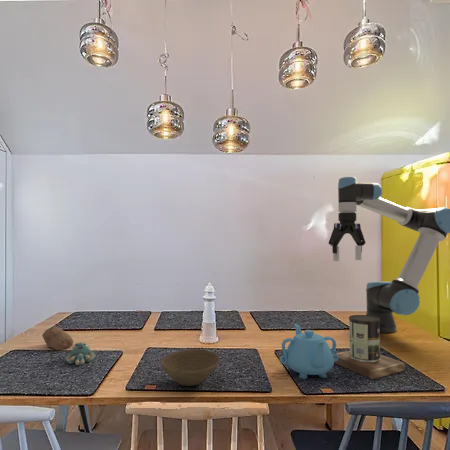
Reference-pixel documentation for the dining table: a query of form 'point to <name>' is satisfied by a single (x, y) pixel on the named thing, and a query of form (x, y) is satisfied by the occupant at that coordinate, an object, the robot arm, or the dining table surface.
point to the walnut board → (370, 365)
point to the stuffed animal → (80, 354)
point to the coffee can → (364, 338)
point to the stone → (57, 338)
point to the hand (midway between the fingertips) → (347, 260)
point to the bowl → (190, 366)
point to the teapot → (309, 353)
